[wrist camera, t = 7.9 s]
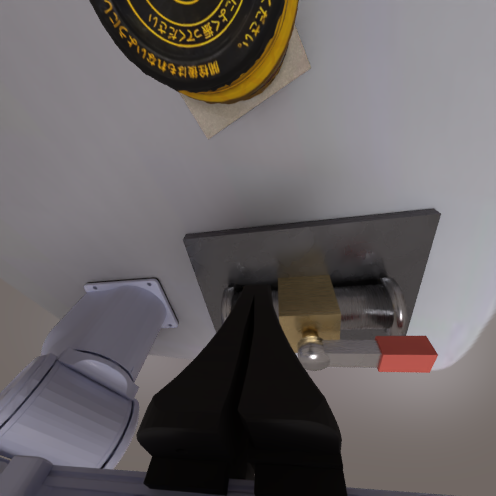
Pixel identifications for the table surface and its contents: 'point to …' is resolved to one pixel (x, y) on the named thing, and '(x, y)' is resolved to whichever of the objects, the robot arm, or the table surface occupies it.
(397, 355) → the valve lever
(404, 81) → the table surface
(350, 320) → the valve body
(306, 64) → the condiment
